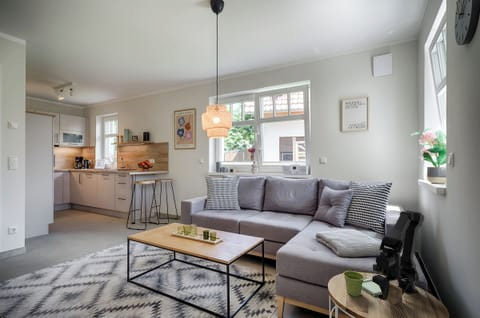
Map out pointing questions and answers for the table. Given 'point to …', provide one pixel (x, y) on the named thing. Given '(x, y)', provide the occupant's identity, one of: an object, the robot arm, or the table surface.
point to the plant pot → (353, 282)
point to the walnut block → (394, 294)
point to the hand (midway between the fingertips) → (393, 297)
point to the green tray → (371, 287)
